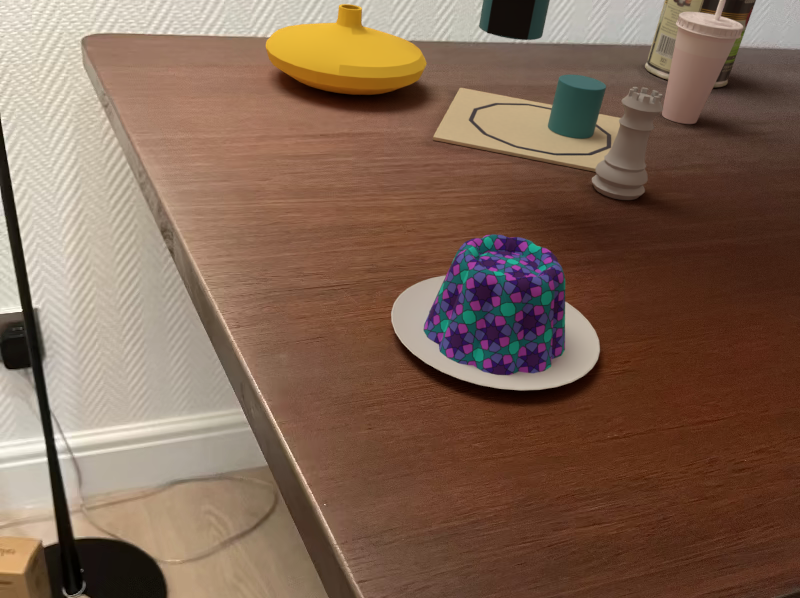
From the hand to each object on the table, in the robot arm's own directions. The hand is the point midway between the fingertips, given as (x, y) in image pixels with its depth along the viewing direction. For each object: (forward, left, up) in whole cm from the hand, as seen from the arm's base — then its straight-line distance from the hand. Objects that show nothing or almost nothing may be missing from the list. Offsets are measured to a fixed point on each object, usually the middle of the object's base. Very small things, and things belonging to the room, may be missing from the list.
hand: (510, 26), depth 56 cm
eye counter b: (-6, -19, -12) cm, 23 cm away
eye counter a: (0, 0, 0) cm, 0 cm away
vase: (+16, -21, -12) cm, 29 cm away
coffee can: (-20, -50, -12) cm, 55 cm away
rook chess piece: (-11, -6, -12) cm, 18 cm away
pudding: (-3, +20, -12) cm, 24 cm away
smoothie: (-18, -31, -12) cm, 37 cm away
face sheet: (-4, -18, -12) cm, 22 cm away
